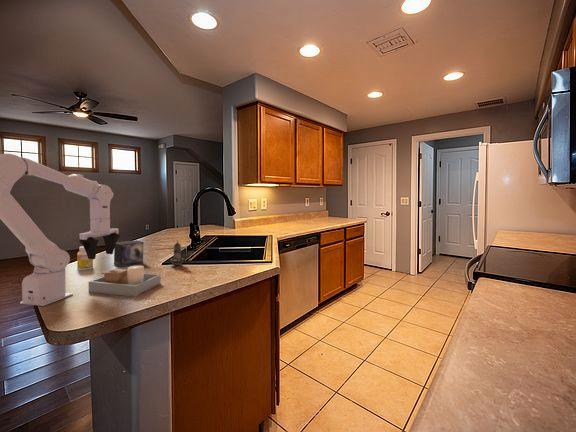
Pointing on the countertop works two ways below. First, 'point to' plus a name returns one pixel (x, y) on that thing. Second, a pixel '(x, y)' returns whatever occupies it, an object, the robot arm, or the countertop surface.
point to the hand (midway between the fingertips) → (101, 256)
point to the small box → (128, 253)
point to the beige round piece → (135, 275)
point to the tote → (125, 286)
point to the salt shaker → (177, 256)
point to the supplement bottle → (83, 260)
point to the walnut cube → (116, 276)
